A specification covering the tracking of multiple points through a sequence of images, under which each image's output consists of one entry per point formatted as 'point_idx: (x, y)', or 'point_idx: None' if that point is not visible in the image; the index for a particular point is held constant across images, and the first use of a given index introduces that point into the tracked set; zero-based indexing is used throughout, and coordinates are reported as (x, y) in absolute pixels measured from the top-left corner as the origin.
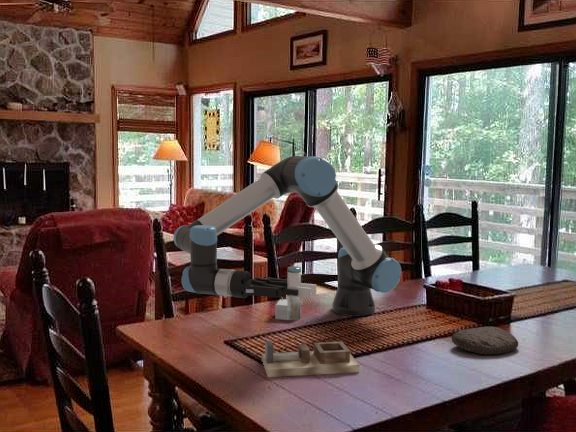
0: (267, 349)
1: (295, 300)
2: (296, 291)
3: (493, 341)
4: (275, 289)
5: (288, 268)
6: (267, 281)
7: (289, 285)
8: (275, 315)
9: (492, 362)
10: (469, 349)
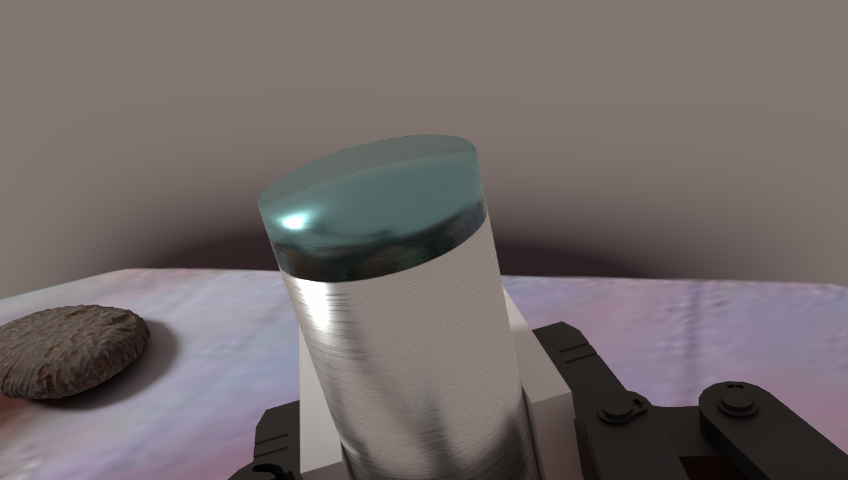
0: None
1: None
2: (567, 333)
3: (103, 313)
4: (811, 438)
5: (465, 170)
6: None
7: (519, 394)
8: None
9: (196, 318)
10: (141, 348)
